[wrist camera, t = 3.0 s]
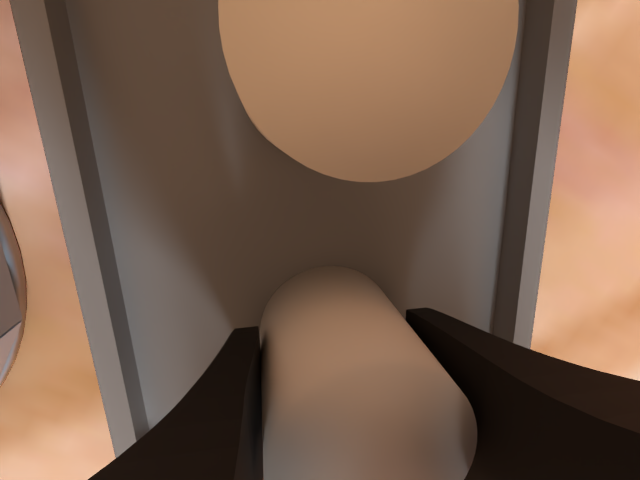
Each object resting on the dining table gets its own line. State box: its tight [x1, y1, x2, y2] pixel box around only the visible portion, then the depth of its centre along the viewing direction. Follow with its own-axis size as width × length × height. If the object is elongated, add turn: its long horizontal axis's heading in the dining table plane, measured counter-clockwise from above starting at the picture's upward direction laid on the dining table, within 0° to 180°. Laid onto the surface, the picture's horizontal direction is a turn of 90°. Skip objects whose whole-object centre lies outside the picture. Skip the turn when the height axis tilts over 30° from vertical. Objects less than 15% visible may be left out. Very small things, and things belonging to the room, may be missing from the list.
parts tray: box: [10, 0, 577, 458], centre depth 10 cm, size 15×12×1 cm
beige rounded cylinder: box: [218, 0, 519, 182], centre depth 7 cm, size 4×4×5 cm
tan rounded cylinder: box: [260, 266, 477, 480], centre depth 9 cm, size 4×4×5 cm
